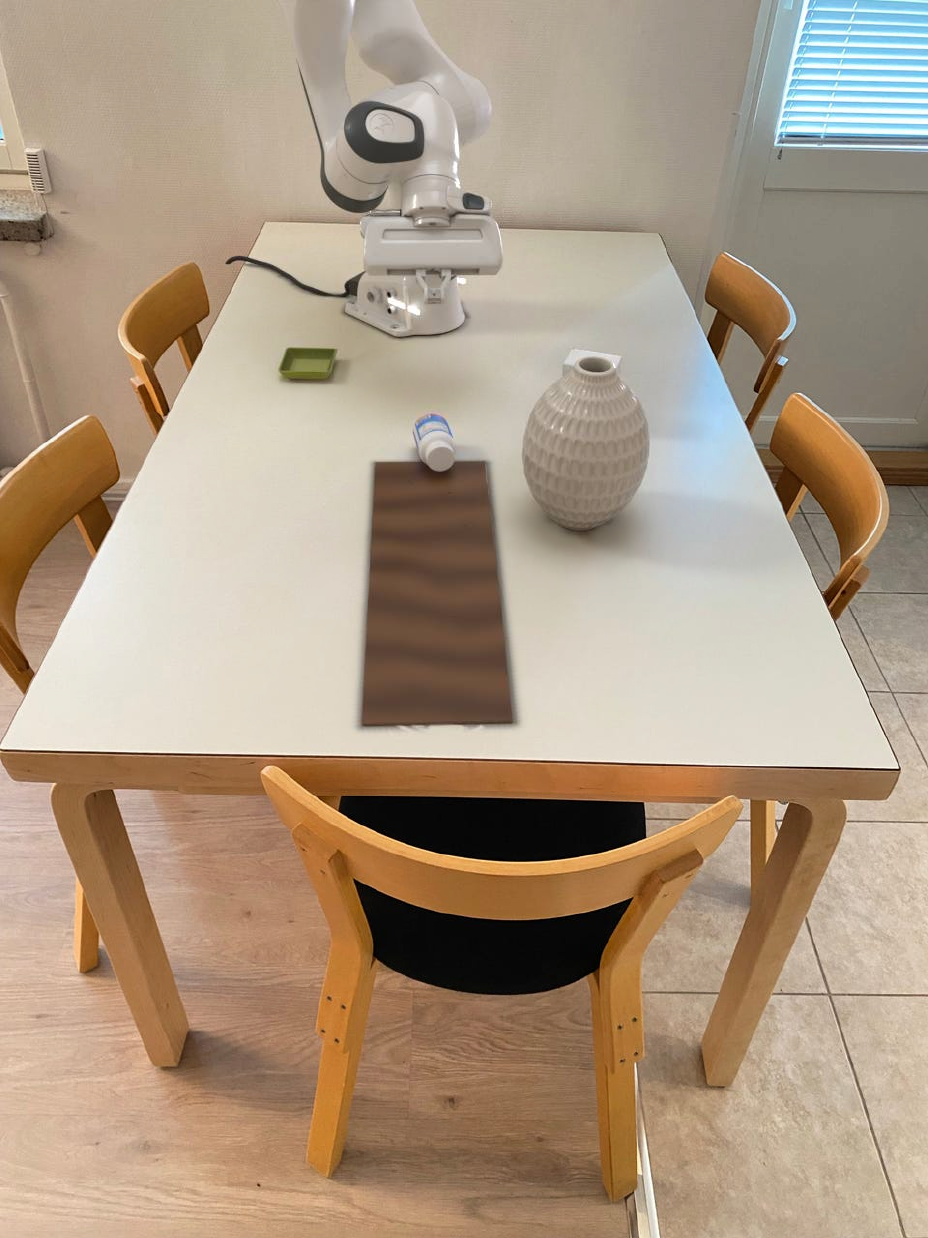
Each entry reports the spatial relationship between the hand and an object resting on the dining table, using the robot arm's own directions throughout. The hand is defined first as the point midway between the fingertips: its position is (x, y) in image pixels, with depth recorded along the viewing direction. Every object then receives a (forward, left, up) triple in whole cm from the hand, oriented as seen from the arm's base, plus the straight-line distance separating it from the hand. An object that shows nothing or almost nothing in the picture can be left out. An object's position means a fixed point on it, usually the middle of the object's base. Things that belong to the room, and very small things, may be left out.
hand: (434, 302), depth 140 cm
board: (+23, -33, -18) cm, 44 cm away
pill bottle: (+5, -8, -15) cm, 18 cm away
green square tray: (-25, -1, -18) cm, 31 cm away
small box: (+21, +11, -18) cm, 30 cm away
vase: (+32, -12, -18) cm, 38 cm away
